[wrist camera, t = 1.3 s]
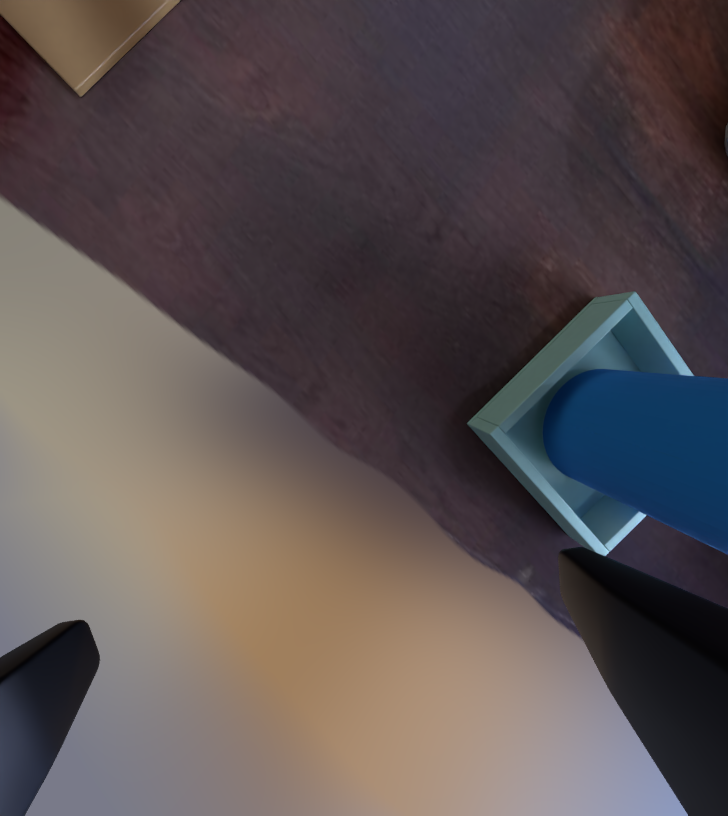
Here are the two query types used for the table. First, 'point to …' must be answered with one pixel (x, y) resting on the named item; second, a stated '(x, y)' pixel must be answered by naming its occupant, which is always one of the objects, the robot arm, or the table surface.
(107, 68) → the mat
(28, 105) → the table surface
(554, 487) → the pan
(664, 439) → the beverage can
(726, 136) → the white storage bin
